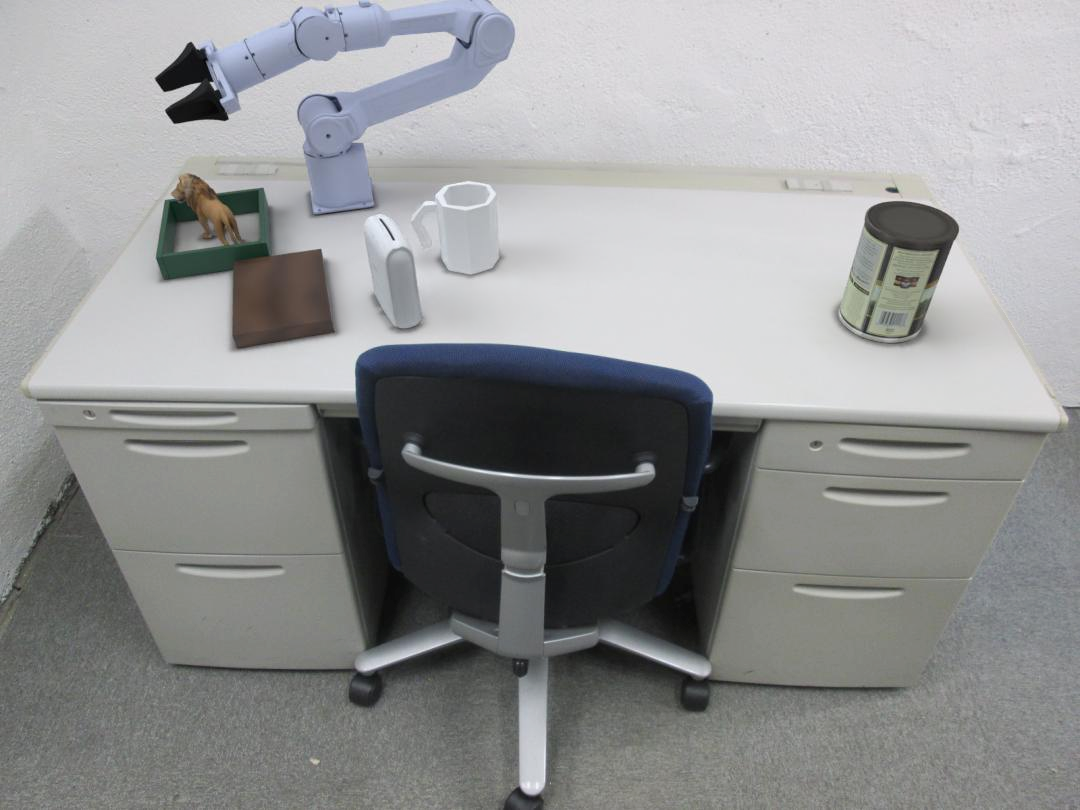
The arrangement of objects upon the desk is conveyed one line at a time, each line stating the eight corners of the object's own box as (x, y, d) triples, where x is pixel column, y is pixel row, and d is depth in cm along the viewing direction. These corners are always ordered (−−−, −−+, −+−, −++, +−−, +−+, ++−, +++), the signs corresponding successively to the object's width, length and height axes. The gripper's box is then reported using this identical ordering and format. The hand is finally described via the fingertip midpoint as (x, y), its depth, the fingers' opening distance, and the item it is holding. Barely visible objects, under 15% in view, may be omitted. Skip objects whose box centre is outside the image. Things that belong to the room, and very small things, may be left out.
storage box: (268, 207, 125) (263, 187, 123) (272, 263, 112) (266, 242, 110) (171, 220, 122) (164, 199, 120) (163, 279, 109) (155, 257, 107)
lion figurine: (180, 232, 119) (161, 176, 113) (211, 219, 122) (194, 164, 116) (236, 265, 112) (219, 207, 106) (268, 250, 115) (252, 193, 109)
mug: (499, 242, 116) (496, 180, 110) (499, 274, 110) (496, 209, 103) (417, 244, 116) (410, 182, 109) (413, 276, 110) (404, 211, 103)
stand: (323, 260, 113) (321, 248, 111) (334, 332, 100) (331, 319, 98) (237, 273, 110) (233, 261, 109) (236, 348, 97) (232, 335, 96)
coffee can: (888, 291, 106) (922, 194, 97) (938, 335, 98) (979, 235, 89) (821, 304, 104) (848, 206, 94) (866, 350, 96) (901, 248, 87)
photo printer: (370, 293, 106) (356, 209, 98) (401, 285, 108) (389, 202, 100) (394, 333, 99) (380, 247, 91) (426, 324, 101) (415, 239, 93)
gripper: (228, 7, 109) (137, 47, 108) (253, 64, 102) (156, 108, 101) (252, 50, 116) (167, 88, 115) (278, 107, 109) (187, 149, 108)
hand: (164, 100), depth 108 cm, fingers open, 7 cm apart
